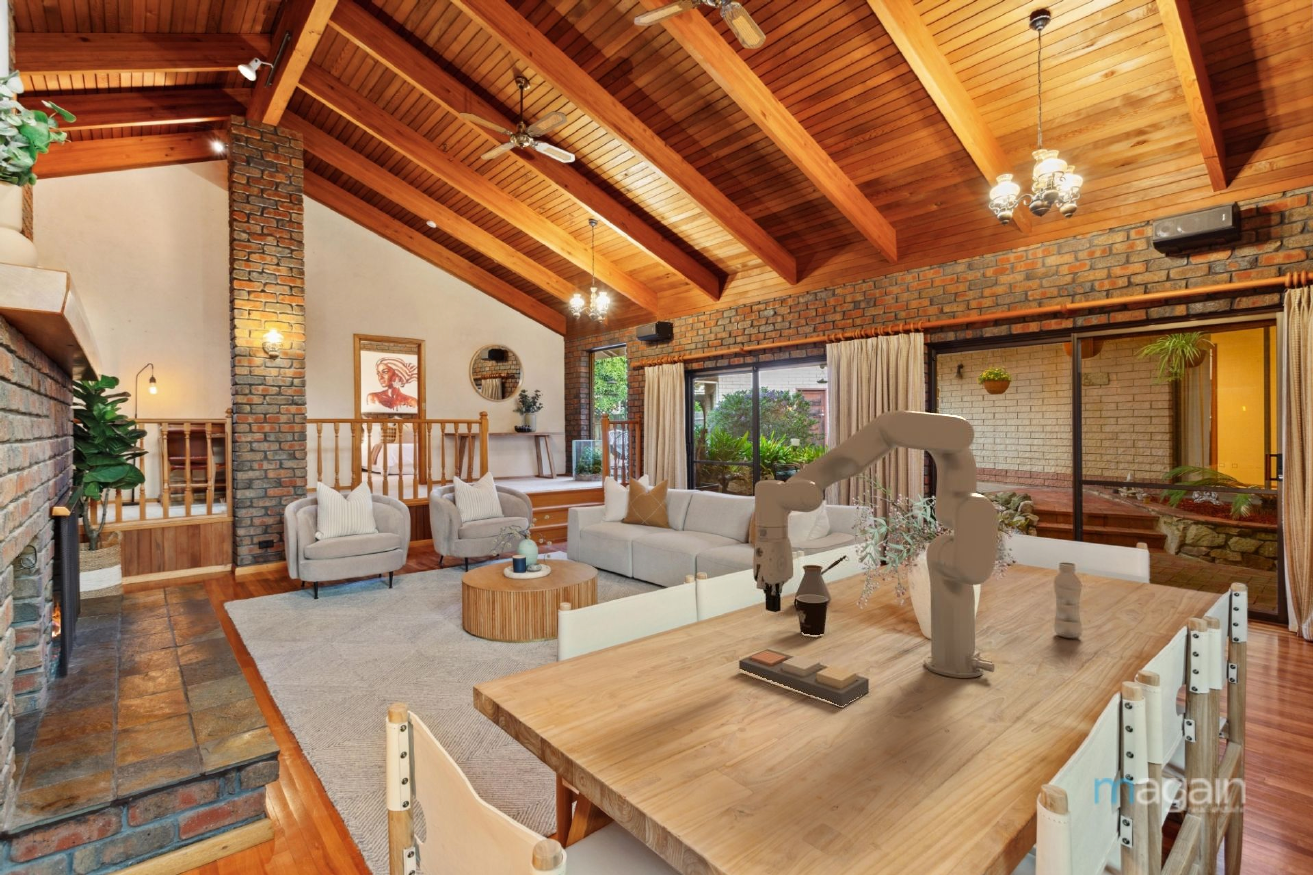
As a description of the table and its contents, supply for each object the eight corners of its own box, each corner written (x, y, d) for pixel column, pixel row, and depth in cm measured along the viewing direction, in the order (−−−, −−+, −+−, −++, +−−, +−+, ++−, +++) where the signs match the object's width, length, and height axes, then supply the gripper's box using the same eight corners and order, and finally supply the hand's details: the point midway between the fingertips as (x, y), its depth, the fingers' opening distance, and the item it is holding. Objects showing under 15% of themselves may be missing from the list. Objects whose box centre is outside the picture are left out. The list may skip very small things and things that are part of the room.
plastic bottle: (1073, 633, 172) (1072, 561, 172) (1087, 641, 165) (1087, 566, 165) (1048, 633, 172) (1047, 561, 172) (1062, 641, 166) (1061, 566, 165)
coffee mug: (831, 639, 170) (831, 602, 170) (800, 639, 171) (799, 602, 171) (821, 625, 182) (821, 591, 182) (791, 626, 182) (791, 592, 182)
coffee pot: (812, 613, 195) (811, 565, 195) (787, 604, 205) (787, 559, 205) (861, 603, 205) (860, 558, 205) (835, 595, 215) (834, 552, 215)
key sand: (856, 682, 135) (856, 672, 135) (841, 690, 131) (841, 680, 131) (831, 674, 139) (831, 665, 139) (816, 682, 135) (816, 672, 135)
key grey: (819, 670, 141) (819, 662, 141) (804, 678, 137) (804, 669, 137) (797, 664, 146) (797, 655, 146) (782, 671, 141) (782, 662, 141)
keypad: (868, 692, 135) (868, 678, 135) (842, 708, 128) (842, 693, 128) (767, 660, 155) (767, 648, 155) (739, 673, 147) (739, 660, 147)
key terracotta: (786, 665, 148) (786, 656, 148) (771, 672, 144) (771, 663, 144) (766, 658, 152) (766, 650, 152) (750, 665, 148) (750, 656, 148)
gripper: (764, 538, 139) (766, 620, 139) (803, 530, 149) (804, 607, 149) (738, 535, 144) (740, 614, 145) (777, 527, 155) (779, 601, 155)
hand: (773, 610), depth 147 cm, fingers closed
